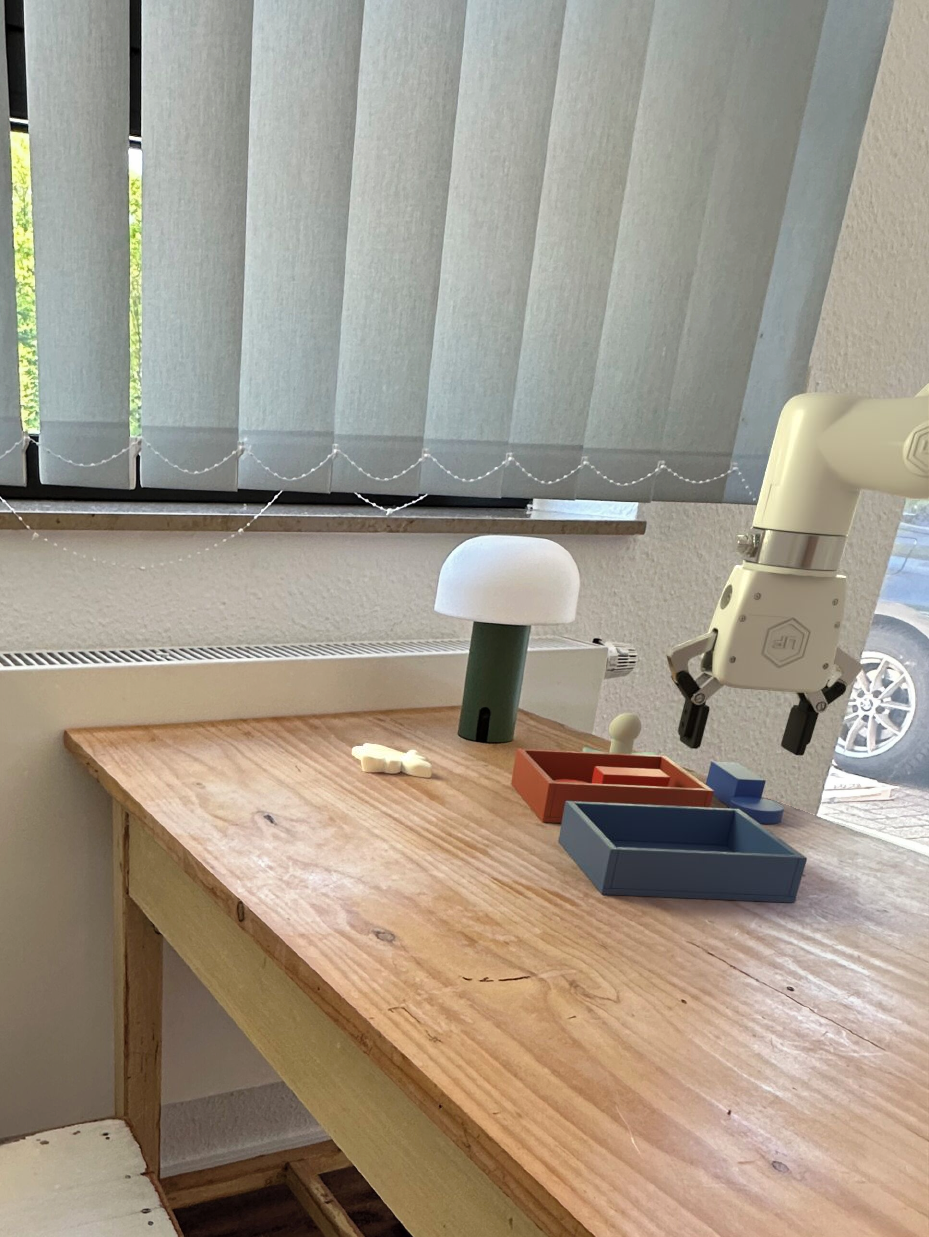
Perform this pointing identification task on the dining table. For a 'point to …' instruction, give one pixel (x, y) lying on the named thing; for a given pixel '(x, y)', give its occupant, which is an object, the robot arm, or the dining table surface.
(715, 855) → the blue bin
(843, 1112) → the dining table surface
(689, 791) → the red bin
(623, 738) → the pacifier
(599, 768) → the red disc paddle
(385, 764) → the acanthus leaf ornament
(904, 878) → the dining table surface
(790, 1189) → the dining table surface
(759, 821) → the blue disc paddle
